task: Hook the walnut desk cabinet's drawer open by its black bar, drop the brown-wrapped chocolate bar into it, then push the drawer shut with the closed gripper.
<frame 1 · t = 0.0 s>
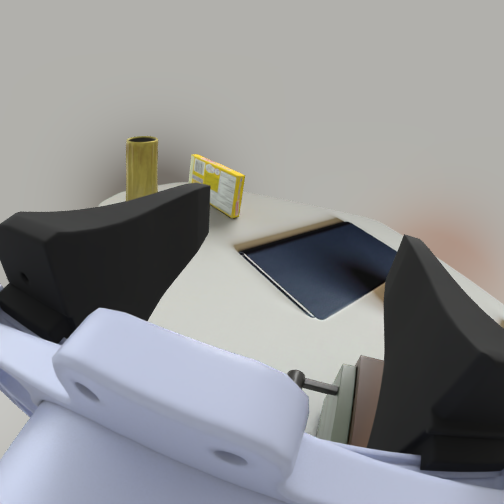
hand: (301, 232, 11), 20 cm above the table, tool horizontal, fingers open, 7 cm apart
cabinet: (383, 462, 22), on the table
vase: (142, 218, 55), on the table
drawer: (361, 438, 21), point 4 cm above the table, slide at 0.0 cm
candy box: (211, 203, 65), on the table
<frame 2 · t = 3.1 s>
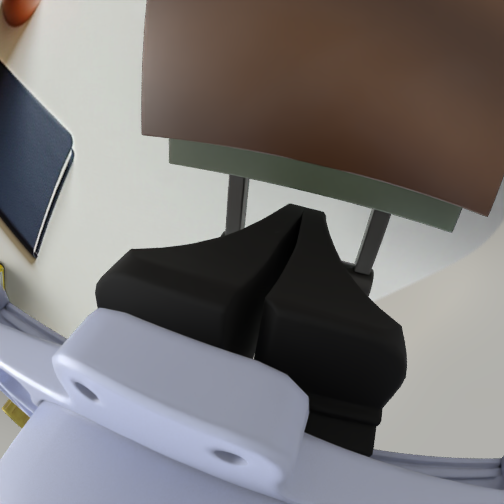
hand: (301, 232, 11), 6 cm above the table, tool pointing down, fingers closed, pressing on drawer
cabinet: (348, 14, 11), on the table
vase: (67, 354, 41), on the table
drawer: (332, 90, 10), point 4 cm above the table, slide at 0.0 cm, touching gripper
candy box: (2, 288, 39), on the table
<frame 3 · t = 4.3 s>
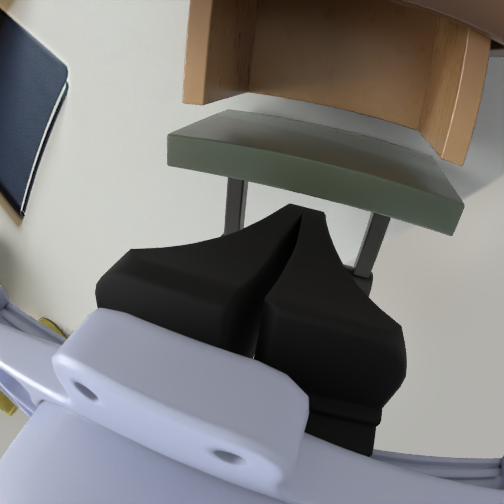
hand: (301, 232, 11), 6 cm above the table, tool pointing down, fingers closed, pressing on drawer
vase: (55, 332, 38), on the table
drawer: (332, 92, 10), point 4 cm above the table, slide at 5.2 cm, touching gripper
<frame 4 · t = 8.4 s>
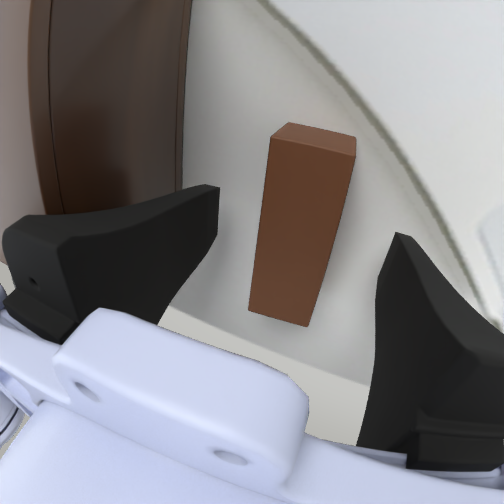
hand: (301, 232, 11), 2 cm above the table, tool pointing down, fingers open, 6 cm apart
cabinet: (84, 74, 12), on the table
chocolate bar: (305, 214, 13), on the table
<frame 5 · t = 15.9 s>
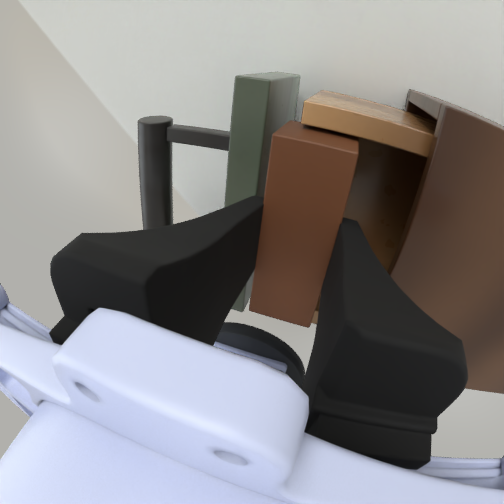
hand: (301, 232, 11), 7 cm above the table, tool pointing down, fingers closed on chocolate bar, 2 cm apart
cabinet: (472, 218, 15), on the table
drawer: (315, 200, 14), point 4 cm above the table, slide at 5.2 cm
chocolate bar: (307, 213, 12), point 5 cm above the table, touching gripper
when the fingers open (10 cm above the table, at t = 24.4 s): chocolate bar drops 7 cm, resting on drawer.
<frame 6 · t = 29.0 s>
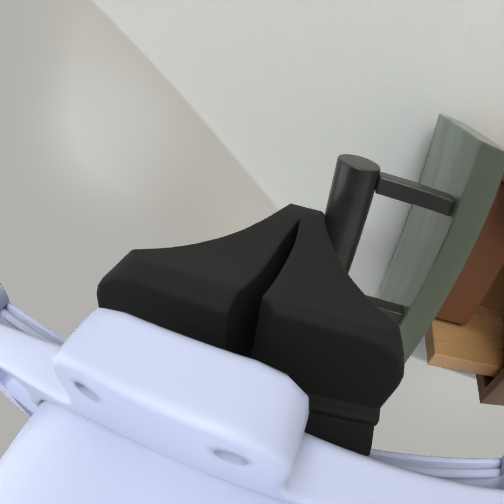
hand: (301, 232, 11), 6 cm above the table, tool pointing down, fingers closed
drawer: (477, 256, 12), point 4 cm above the table, slide at 5.0 cm, touching chocolate bar, gripper
chocolate bar: (466, 233, 13), point 2 cm above the table, touching drawer
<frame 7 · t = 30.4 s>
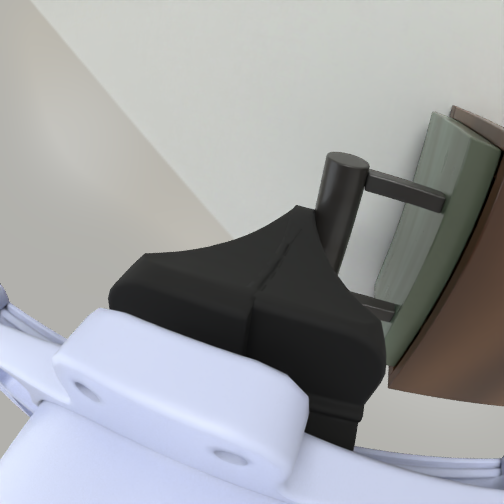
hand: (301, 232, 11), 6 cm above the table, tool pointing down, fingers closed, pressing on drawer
drawer: (471, 254, 12), point 4 cm above the table, slide at -0.1 cm, touching chocolate bar, gripper
chocolate bar: (461, 232, 13), point 2 cm above the table, touching drawer
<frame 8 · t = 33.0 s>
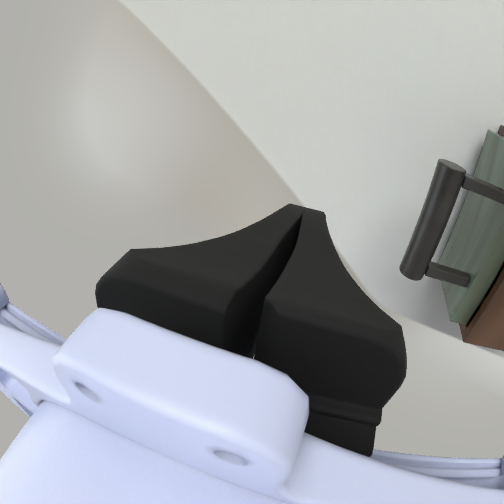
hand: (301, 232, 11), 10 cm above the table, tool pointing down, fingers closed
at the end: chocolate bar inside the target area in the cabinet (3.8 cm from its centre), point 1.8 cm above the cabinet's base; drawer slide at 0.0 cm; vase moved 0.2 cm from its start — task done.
